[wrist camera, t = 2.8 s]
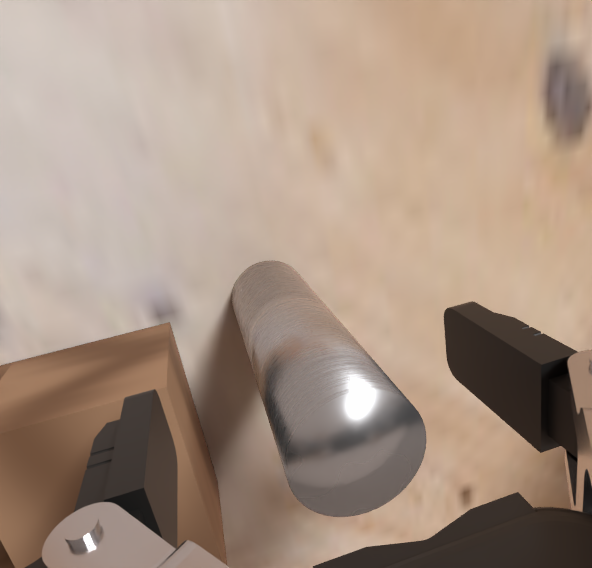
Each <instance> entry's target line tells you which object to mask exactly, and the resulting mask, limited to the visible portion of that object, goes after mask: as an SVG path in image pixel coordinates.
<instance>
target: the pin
mask: <svg viewBox="0 0 592 568" xmlns="http://www.w3.org/2000/svg"><path fill="white" fill-rule="evenodd" d="M232 305H233V309H234V312H235V315H236V318H237V321H238V324H239V328H240V331H241V334H242V337H243V340H244V344H245V347H246V350H247V353H248V356H249V359H250V363H251V366H252V369H253V372H254V375H255V378H256V382H257V385H258V388H259V391H260V394H261V397H262V401H263V404H264V407H265V410H266V413H267V416H268V420H269V423H270V426H271V429H272V432H273V435H274V439H275V442H276V445H277V448H278V451H279V454H280V458H281V461H282V464H283V467H284V470H285V473H286V477H287V480H288V483H289V486H290V488H291V490H292V492H293V494H294V495H295V497H296V498H297V499H298V500H299V501H300V502H301V503H302V504H303V505H304V506H306V507H307V508H309V509H310V510H312V511H314V512H317V513H319V514H323V515H327V516H333V517H348V516H355V515H360V514H363V513H367V512H369V511H372V510H374V509H377V508H379V507H381V506H382V505H384V504H386V503H387V502H389V501H390V500H392V499H393V498H394V497H396V496H397V495H398V494H399V493H400V492H401V491H402V490H403V489H405V488H406V486H407V485H408V484H409V483H410V482H411V480H412V479H413V477H414V476H415V474H416V473H417V471H418V469H419V467H420V465H421V463H422V460H423V457H424V453H425V449H426V431H425V426H424V423H423V420H422V418H421V416H420V414H419V412H418V411H417V410H416V409H415V407H414V406H413V405H412V404H411V403H410V402H409V400H408V399H407V398H406V397H405V396H404V395H403V393H402V392H401V391H400V390H399V389H398V388H397V387H396V385H395V384H394V383H393V382H392V381H391V380H390V379H389V377H388V376H387V375H386V374H385V373H384V372H383V370H382V369H381V368H380V367H379V366H378V365H377V364H376V362H375V361H374V360H373V359H372V358H371V357H370V356H369V354H368V353H367V352H366V351H365V350H364V349H363V347H362V346H361V345H360V344H359V343H358V342H357V341H356V339H355V338H354V337H353V336H352V335H351V334H350V333H349V331H348V330H347V329H346V328H345V327H344V326H343V324H342V323H341V322H340V321H339V320H338V319H337V318H336V316H335V315H334V314H333V313H332V312H331V311H330V309H329V308H328V307H327V306H326V305H325V304H324V303H323V301H322V300H321V299H320V298H319V297H318V296H317V295H316V293H315V292H314V291H313V290H312V289H311V288H310V286H309V285H308V284H307V283H306V282H305V281H304V280H303V278H302V277H301V276H300V275H299V274H298V273H297V272H296V271H295V270H294V269H293V268H292V267H290V266H289V265H287V264H285V263H282V262H278V261H263V262H259V263H256V264H254V265H252V266H250V267H249V268H247V269H246V270H245V271H244V272H243V273H242V274H241V275H240V276H239V278H238V279H237V281H236V283H235V285H234V287H233V291H232Z"/></svg>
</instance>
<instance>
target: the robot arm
mask: <svg viewBox="0 0 592 568" xmlns="http://www.w3.org/2000/svg"><path fill="white" fill-rule="evenodd" d="M444 326H445V340H446V354H447V362H448V365H449V368H450V370H451V372H452V374H453V376H454V377H455V378H456V379H457V380H458V381H459V382H460V383H461V384H462V385H463V386H465V387H466V388H467V389H468V390H469V391H470V392H472V393H473V394H474V395H475V396H476V397H477V398H478V399H480V400H481V401H482V402H483V403H484V404H485V405H486V406H488V407H489V408H490V409H491V410H492V411H493V412H494V413H496V414H497V415H498V416H499V417H500V418H501V419H502V420H504V421H505V422H506V423H507V424H508V425H509V426H511V427H512V428H513V429H514V430H515V431H516V432H517V433H519V434H520V435H521V436H522V437H523V438H524V439H525V440H527V441H528V442H529V443H530V444H531V445H532V446H533V447H535V448H536V449H537V450H538V451H539V452H540V453H541V452H544V451H547V450H550V449H553V448H556V447H559V446H562V447H563V448H565V468H566V475H567V483H568V490H569V497H570V504H571V510H570V509H563V508H553V507H538V508H533V507H532V506H531V505H530V504H529V503H528V502H527V501H526V500H525V499H524V498H523V497H522V496H521V495H520V494H519V493H518V492H517V493H514V494H511V495H509V496H506V497H503V498H500V499H498V500H495V501H492V502H489V503H487V504H484V505H481V506H478V507H476V508H473V509H470V510H469V511H468V512H466V513H465V514H463V515H462V516H461V517H459V518H458V519H456V520H455V521H454V522H452V523H451V524H449V525H448V526H447V527H445V528H444V529H442V530H441V531H439V532H438V533H437V534H435V535H434V536H432V537H431V538H429V539H427V540H423V541H416V542H407V543H398V544H389V545H380V546H372V547H365V548H363V549H360V550H357V551H354V552H352V553H349V554H346V555H343V556H340V557H338V558H335V559H332V560H329V561H327V562H324V563H321V564H318V565H316V566H313V568H592V350H586V351H581V352H577V351H575V350H573V349H571V348H570V347H568V346H566V345H564V344H562V343H560V342H558V341H557V340H555V339H553V338H551V337H549V336H547V335H545V334H541V332H540V331H538V330H536V329H534V328H532V327H530V328H529V325H527V324H525V323H523V322H521V321H519V320H518V319H516V318H513V317H510V316H506V315H502V314H498V313H493V312H492V311H490V310H488V309H486V308H484V307H483V306H481V305H479V304H477V303H475V302H468V303H465V304H461V305H457V306H454V307H450V308H447V309H446V310H445V313H444ZM86 467H87V470H85V474H84V477H83V481H82V484H81V488H80V492H79V495H78V499H77V502H76V506H75V510H74V513H72V514H71V515H69V516H68V517H66V518H65V519H64V520H63V521H61V522H60V523H59V524H58V525H57V526H56V527H55V528H54V529H53V531H52V532H51V533H50V534H49V536H48V538H47V539H46V541H45V543H44V546H43V549H42V557H40V558H39V559H38V560H36V561H35V562H33V563H31V564H30V565H28V566H27V567H25V568H230V567H228V566H227V565H226V564H224V563H223V562H221V561H220V560H218V559H217V558H216V557H214V556H213V555H211V554H210V553H209V552H207V551H206V550H204V549H203V548H202V547H200V546H199V545H197V544H196V543H194V542H192V541H189V540H185V541H184V542H183V543H182V544H181V545H180V546H179V547H178V548H177V502H178V464H177V455H176V449H175V445H174V441H173V438H172V435H171V431H170V428H169V425H168V422H167V419H166V416H165V413H164V410H163V407H162V404H161V401H160V398H159V395H158V393H157V391H156V390H155V389H153V390H149V391H146V392H142V393H139V394H135V395H131V396H128V397H125V398H124V402H123V407H122V412H121V416H120V419H119V420H115V421H112V422H108V423H106V424H105V426H104V427H103V428H102V429H101V431H100V432H99V433H98V434H97V436H96V437H95V438H94V441H93V445H92V448H91V452H90V457H89V459H88V463H87V466H86Z"/></svg>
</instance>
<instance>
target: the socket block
mask: <svg viewBox="0 0 592 568" xmlns="http://www.w3.org/2000/svg"><path fill="white" fill-rule="evenodd" d="M153 389H155V390H156V391H157V393H158V395H159V398H160V401H161V404H162V407H163V410H164V413H165V416H166V419H167V422H168V425H169V428H170V431H171V435H172V438H173V441H174V445H175V449H176V455H177V464H178V502H177V548H178V547H179V546H180V545H181V544H182V543H183V542H184V541H185V540H189V541H192V542H194V543H196V544H197V545H199V546H200V547H202V548H203V549H204V550H206V551H207V552H209V553H210V554H211V555H213V556H214V557H216V558H217V559H218V560H220V561H221V562H223V563H224V564H226V565H227V561H226V552H225V543H224V534H223V525H222V516H221V507H220V498H219V489H218V482H217V478H216V475H215V472H214V468H213V465H212V462H211V458H210V455H209V452H208V448H207V445H206V442H205V438H204V435H203V432H202V428H201V425H200V422H199V418H198V415H197V412H196V408H195V405H194V402H193V398H192V395H191V392H190V388H189V385H188V382H187V378H186V375H185V372H184V368H183V365H182V362H181V358H180V355H179V352H178V348H177V345H176V342H175V338H174V335H173V332H172V328H171V325H170V322H169V323H165V324H161V325H158V326H154V327H150V328H146V329H142V330H138V331H134V332H130V333H126V334H122V335H118V336H115V337H111V338H107V339H103V340H99V341H95V342H91V343H87V344H83V345H79V346H75V347H72V348H68V349H64V350H60V351H56V352H52V353H48V354H44V355H40V356H36V357H32V358H29V359H25V360H21V361H17V362H13V363H9V364H5V365H1V366H0V568H25V567H27V566H28V565H30V564H31V563H33V562H35V561H36V560H38V559H39V558H40V557H42V549H43V546H44V543H45V541H46V539H47V538H48V536H49V534H50V533H51V532H52V531H53V529H54V528H55V527H56V526H57V525H58V524H59V523H60V522H61V521H63V520H64V519H65V518H66V517H68V516H69V515H71V514H72V513H74V510H75V506H76V502H77V499H78V495H79V492H80V488H81V484H82V481H83V477H84V474H85V470H87V467H86V466H87V463H88V459H89V457H90V452H91V448H92V445H93V441H94V438H95V437H96V436H97V434H98V433H99V432H100V431H101V429H102V428H103V427H104V426H105V424H106V423H108V422H112V421H115V420H119V419H120V416H121V412H122V407H123V402H124V398H125V397H128V396H131V395H135V394H139V393H142V392H146V391H149V390H153Z"/></svg>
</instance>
